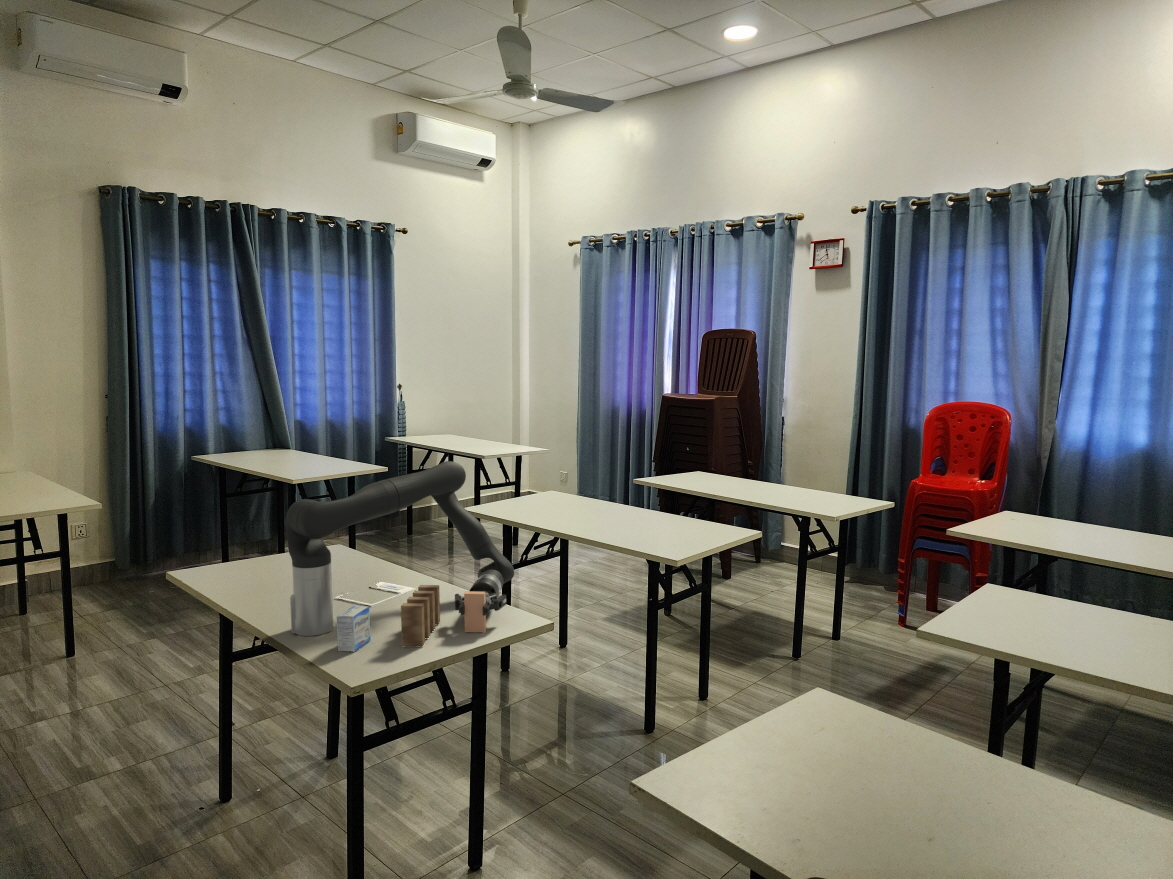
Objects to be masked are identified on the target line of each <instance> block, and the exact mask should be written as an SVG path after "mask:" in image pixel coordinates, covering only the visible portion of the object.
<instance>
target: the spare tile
mask: <svg viewBox="0 0 1173 879" xmlns="http://www.w3.org/2000/svg"><path fill="white" fill-rule="evenodd" d="M463 597H464V605H465V614H464V615H463V616H464V633H465V632H485V633H486V631H487V615H486V616H483V606H484V605H485V603H486V595H485V592H474V591H470V590H469V591H467V590H466V591H465V592H464V593H463ZM485 630H486V631H485Z"/></svg>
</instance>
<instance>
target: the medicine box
mask: <svg viewBox="0 0 1173 879" xmlns="http://www.w3.org/2000/svg"><path fill="white" fill-rule="evenodd" d="M370 614H371V613H370V607H369V606H364V605H354V606H352V607H350V608H349V609H347V610H345V611H343V612H341V613H340V614H339V615H337V616H336V630H337V635H336V636H337V648H338V649H337V650H338V652H345V651H351V652H350V653H356V652H357V651H358V650H360V649H362V647H364V646H365V645H367V644H368V643H369V642H370V641H371V615H370ZM367 642H368V643H367ZM363 645H364V646H363ZM359 648H360V649H359ZM355 651H356V652H355Z"/></svg>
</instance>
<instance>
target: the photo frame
mask: <svg viewBox="0 0 1173 879" xmlns="http://www.w3.org/2000/svg"><path fill="white" fill-rule="evenodd" d="M376 583H377V584H376V585H377V586H378V587H377V588H380V589H384V590H388V591H393V592H398V593H401V594H395V595H393V596H390V597H387V598H384V599H383V600H382V599H381V600H380V601H377V602H373V603H368V602H363V601H358V600H353V599H349V598H344V597H342V598H341V597H340V596H343V594H340V595H337V596H335V597H334V599H335V598H339V599H343V600H347V601H352V602H357V603H361V604H365V605H370V606H373V607H375V606H374V605H376V604H379V603H381V602H384V601H387V600H389V601H391V600H390V599H392V598H394V597H397V596H399V595H402V594H405V593H407V592H410V591H413V590H415V589H417V590H418V587H417V588H416V587H410V586H406V585H399V584H395V583H389V582H385V581H384V582H383V581H379V583H378V582H376ZM413 592H414V591H413ZM346 593H347V594H348V593H349V592H346ZM405 595H406V594H405ZM397 598H398V597H397ZM392 600H393V599H392ZM387 602H388V601H387ZM384 603H385V602H384ZM381 604H382V603H381ZM379 605H380V604H379ZM376 606H377V605H376Z"/></svg>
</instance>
